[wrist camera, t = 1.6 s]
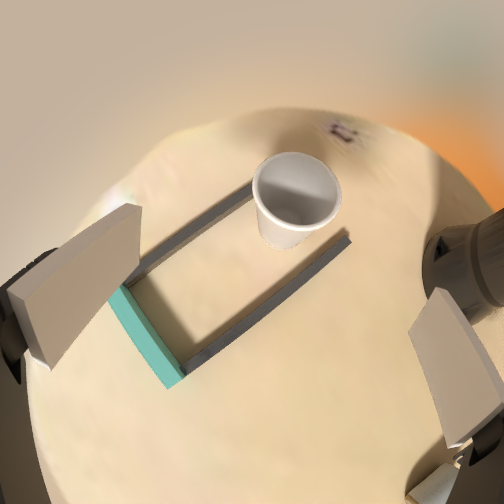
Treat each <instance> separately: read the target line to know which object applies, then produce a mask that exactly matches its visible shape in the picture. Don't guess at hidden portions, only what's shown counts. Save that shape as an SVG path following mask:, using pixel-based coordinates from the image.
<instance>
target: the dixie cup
mask: <svg viewBox="0 0 504 504" xmlns="http://www.w3.org/2000/svg"><path fill="white" fill-rule="evenodd" d="M252 191H253V196H254V199H255V202H256V208H257V217H258V227H259V233H260V236H261V238H262V239H263V241H264V242H265V243H266V244H267V245H269V246H270V247H272V248H275V249H278V250H288V249H291V248H293V247H295V246H297V245H298V244H299V243H300V242H302V241H303V240H304V239H305V238H307V237H308V236H309V235H310V234H312V233H313V232H314V231H315V230H317V229H318V228H321V227H323V226H325V225H326V224H328V223H329V222H330V221H331V220H332V219H333V218H334V217H335V216H336V214H337V212H338V210H339V208H340V205H341V188H340V185H339V182H338V180H337V178H336V176H335V174H334V173H333V172H332V170H331V169H330V168H329V167H328V166H327V165H326V164H325V163H323V162H322V161H320V160H319V159H317V158H315V157H313V156H311V155H308V154H305V153H301V152H282V153H278V154H275V155H273V156H271V157H269V158H267V159H266V160H265V161H264V162H262V163H261V165H260V166H259V167H258V168H257V170H256V172H255V174H254V177H253V182H252Z"/></svg>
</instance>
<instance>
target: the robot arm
mask: <svg viewBox="0 0 504 504" xmlns="http://www.w3.org/2000/svg"><path fill="white" fill-rule="evenodd" d="M141 215H142V207H141V206H137V205H133V204H129V203H126V204H124V205H122V206H121V207H119V208H117V209H116V210H114V211H113V212H111V213H109V214H108V215H106V216H105V217H103V218H102V219H100V220H99V221H97V222H96V223H94V224H92V225H91V226H89V227H88V228H86V229H85V230H84V231H82V232H81V233H79V234H78V235H76V236H75V237H73V238H72V239H71V240H69V241H68V242H66V243H65V244H63V245H62V246H61V247H59V248H54V249H52V250H49V251H46V252H44V253H43V254H41V255H40V256H39V257H38V258H36V259H35V260H34V262H31V263H29V264H28V265H27V266H26V268H23V269H22V270H21V271H19V272H18V273H17V274H15V275H14V276H13V277H12V278H11V279H9V280H8V281H7V282H6V283H5V284H3V285H2V286H1V287H0V504H51V501H50V498H49V495H48V492H47V489H46V486H45V483H44V479H43V476H42V472H41V469H40V465H39V461H38V457H37V452H36V448H35V443H34V438H33V432H32V426H31V420H30V412H29V404H28V394H27V381H26V362H25V357H24V355H23V354H24V352H25V351H26V350H27V349H28V348H29V351H30V353H31V355H32V357H33V359H34V361H36V362H37V363H39V364H40V365H42V366H43V367H45V368H47V369H48V370H50V371H52V369H53V368H54V367H55V365H56V364H57V363H58V361H59V360H60V359H61V357H62V356H63V355H64V353H65V352H66V351H67V349H68V348H69V347H70V345H71V344H72V343H73V342H74V340H75V339H76V338H77V337H78V335H79V334H80V333H81V332H82V330H83V329H84V328H85V327H86V325H87V324H88V323H89V322H90V320H91V319H92V318H93V317H94V316H95V314H96V313H97V312H98V311H99V310H100V308H101V307H102V306H103V305H104V304H105V302H106V301H107V300H108V299H109V298H110V297H111V296H112V294H113V293H114V292H115V291H116V290H117V289H118V287H119V286H120V285H121V284H122V283H123V282H124V281H125V280H126V278H127V277H128V276H129V275H130V274H131V273H132V272H133V271H134V270H135V268H136V267H137V266H138V265H139V255H140V231H141ZM422 274H423V283H424V289H425V293H426V296H427V299H428V301H427V303H426V305H425V306H424V308H423V309H422V311H421V313H420V314H419V316H418V317H417V319H416V321H415V322H414V324H413V325H412V327H411V328H410V330H409V331H408V334H409V336H410V338H411V341H412V343H413V346H414V348H415V351H416V353H417V356H418V358H419V361H420V363H421V366H422V369H423V371H424V374H425V377H426V380H427V382H428V385H429V388H430V391H431V394H432V397H433V400H434V403H435V406H436V409H437V413H438V416H439V419H440V423H441V426H442V430H443V433H444V437H445V441H446V445H447V449H448V448H453V447H458V446H461V445H462V444H463V443H465V442H466V441H467V440H469V439H470V438H471V437H472V440H473V442H472V443H471V444H470V445H468V446H467V447H466V448H464V449H463V450H462V451H460V452H459V453H458V454H456V455H455V456H454V457H453V460H455V459H457V458H458V457H460V456H463V457H462V458H460V459H459V460H458V461H457V462H458V463H459V464H461V466H460V469H459V472H458V475H457V477H456V480H455V482H454V485H453V487H452V490H451V492H450V494H449V497H448V499H447V501H446V503H445V504H504V383H503V381H502V379H501V377H500V375H499V373H498V371H497V369H496V367H495V366H494V364H493V362H492V360H491V358H490V356H489V355H488V353H487V351H486V349H485V348H484V346H483V344H482V343H481V341H480V339H479V338H478V336H477V334H476V333H475V331H474V329H473V328H472V325H474V324H476V323H478V322H480V321H481V320H482V319H484V318H485V317H487V316H488V315H490V314H491V313H492V312H494V311H495V310H496V309H498V308H500V307H504V208H503V209H501V210H499V211H498V212H496V213H495V214H493V215H491V216H490V217H488V218H486V219H485V220H483V221H481V222H480V223H478V224H471V225H461V226H452V227H449V228H446V229H444V230H443V231H441V232H439V233H438V234H436V235H435V236H434V237H433V238H432V239H431V240H430V242H429V243H428V245H427V247H426V250H425V253H424V258H423V267H422Z"/></svg>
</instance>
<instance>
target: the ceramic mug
mask: <svg viewBox="0 0 504 504" xmlns="http://www.w3.org/2000/svg"><path fill="white" fill-rule="evenodd" d="M458 472H459V469H458V468H456V467H455V466H453V465H451V464H449V463H443V464H442V465H440V466H439V467H438V468H437V469H436V470H435V471H434V472H433V473H432V474H430V475H429V476H428V477H427V478H426V479H425V480H423V481H422V482H421V483H420V484H419V485H417V486H416V487H415V488H413V489H412V490H411V491H410V492H409V493H408V494H407V495H406V497H405V503H406V504H445V503H446V501H447V499H448V497H449V494H450V492H451V490H452V487H453V485H454V482H455V480H456V477H457V475H458Z"/></svg>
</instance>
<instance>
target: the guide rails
mask: <svg viewBox="0 0 504 504" xmlns="http://www.w3.org/2000/svg"><path fill="white" fill-rule="evenodd" d="M252 198H254V196H253V191H252V183H251V184H249V185H248V186H246V187H245V188H243V189H242V190H240V191H239V192H237V193H236V194H234V195H233V196H231V197H230V198H228V199H227V200H225V201H224V202H222V203H221V204H219V205H218V206H216V207H215V208H213V209H212V210H210V211H209V212H207V213H206V214H205V215H203V216H202V217H200V218H199V219H197V220H196V221H195V222H193V223H192V224H190V225H189V226H187V227H186V228H185V229H183V230H182V231H180V232H179V233H178V234H176V235H175V236H173V237H172V238H171V239H169V240H168V241H167V242H165V243H164V244H162V245H161V246H160V247H158V248H157V249H156V250H154V251H153V252H152V253H150V254H149V255H148V256H146V257H145V258H144V259H142V260H141V261H140V262H139V265H138V266H137V267H136V268H135V270H134V271H133V272H132V273H131V274H130V275H129V276H128V277H127V278H126V280H125V281H124V282H123V283H122V285H123V286H124V287H126V288H129V287H131V286H132V285H133V284H134V283H136V282H137V281H138V280H140V279H141V278H142V277H144V276H145V275H146V274H148V273H149V272H150V271H152V270H153V269H154V268H156V267H157V266H158V265H160V264H161V263H162V262H164V261H165V260H166V259H168V258H169V257H170V256H172V255H173V254H174V253H176V252H177V251H178V250H180V249H181V248H183V247H184V246H185V245H187V244H188V243H189V242H191V241H192V240H194V239H195V238H196V237H198V236H199V235H201V234H202V233H203V232H205V231H206V230H208V229H209V228H210V227H212V226H213V225H215V224H216V223H218V222H219V221H220V220H222V219H223V218H225V217H226V216H228V215H229V214H230V213H232V212H233V211H235V210H236V209H238V208H239V207H241V206H242V205H244V204H245V203H247V202H248V201H249V200H251V199H252ZM351 243H352V242H351V241H350V240H349V238H348V237H347V236H346V235H345V236H344V237H342V238H341V239H340V240H339V241H338V242H337V243H336V244H334V245H333V246H332V247H331V248H330V249H329V250H327V251H326V252H325V253H324V254H323V255H322V256H320V257H319V258H318V259H317V260H316V261H314V262H313V263H312V264H311V265H310V266H309V267H307V268H306V269H305V270H304V271H303V272H301V273H300V274H299V275H298V276H296V277H295V278H294V279H293V280H292V281H290V282H289V283H288V284H287V285H286V286H284V287H283V288H282V289H281V290H279V291H278V292H277V293H276V294H274V295H273V296H272V297H271V298H269V299H268V300H267V301H266V302H264V303H263V304H262V305H261V306H259V307H258V308H257V309H256V310H254V311H253V312H252V313H250V314H249V315H248V316H247V317H245V318H244V319H243V320H241V321H240V322H239V323H238V324H236V325H235V326H234V327H232V328H231V329H230V330H228V331H227V332H226V333H225V334H223V335H222V336H221V337H219V338H218V339H217V340H215V341H214V342H213V343H211V344H210V345H209V346H207V347H206V348H205V349H203V350H202V351H200V352H199V353H198V354H196V355H195V356H194V357H192V358H191V359H190V360H188V361H187V362H185V363H184V364H183V365H181V366H180V367H179V368H180V370H181V371H182V372H183V374H184V375H185V376H187V375H188V374H189V373H191V372H192V371H194V370H195V369H196V368H198V367H199V366H201V365H202V364H203V363H205V362H206V361H207V360H209V359H210V358H211V357H213V356H214V355H215V354H217V353H218V352H220V351H221V350H222V349H224V348H225V347H226V346H227V345H229V344H230V343H231V342H233V341H234V340H235V339H237V338H238V337H239V336H241V335H242V334H243V333H244V332H246V331H247V330H248V329H250V328H251V327H252V326H253V325H255V324H256V323H257V322H258V321H260V320H261V319H262V318H263V317H265V316H266V315H267V314H268V313H270V312H271V311H272V310H273V309H275V308H276V307H277V306H278V305H280V304H281V303H282V302H283V301H284V300H286V299H287V298H288V297H289V296H291V295H292V294H293V293H294V292H295V291H297V290H298V289H299V288H300V287H301V286H303V285H304V284H305V283H306V282H307V281H308V280H310V279H311V278H312V277H313V276H314V275H315V274H317V273H318V272H319V271H320V270H321V269H322V268H324V267H325V266H326V265H327V264H328V263H329V262H330V261H332V260H333V259H334V258H335V257H336V256H337V255H338V254H339V253H341V252H342V251H343V250H344V249H345V248H346V247H347V246H348V245H349V244H351Z"/></svg>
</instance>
